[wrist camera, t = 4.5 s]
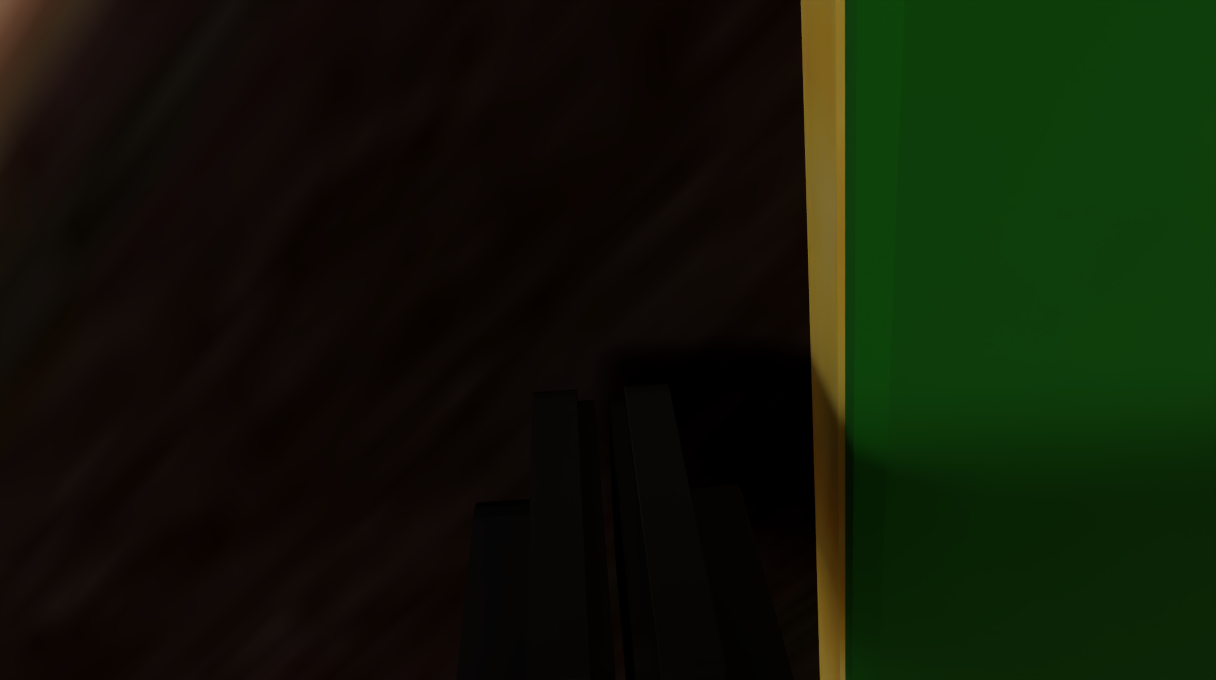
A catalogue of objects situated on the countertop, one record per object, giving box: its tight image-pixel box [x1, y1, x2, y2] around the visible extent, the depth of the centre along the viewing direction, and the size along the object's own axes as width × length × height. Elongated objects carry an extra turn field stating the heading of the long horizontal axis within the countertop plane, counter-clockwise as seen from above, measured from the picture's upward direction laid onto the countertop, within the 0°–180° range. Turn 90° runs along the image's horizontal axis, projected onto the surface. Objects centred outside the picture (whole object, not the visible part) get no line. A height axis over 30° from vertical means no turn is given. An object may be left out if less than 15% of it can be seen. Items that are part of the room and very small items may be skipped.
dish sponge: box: [801, 0, 1216, 680], centre depth 11 cm, size 7×14×2 cm, turn 9°
